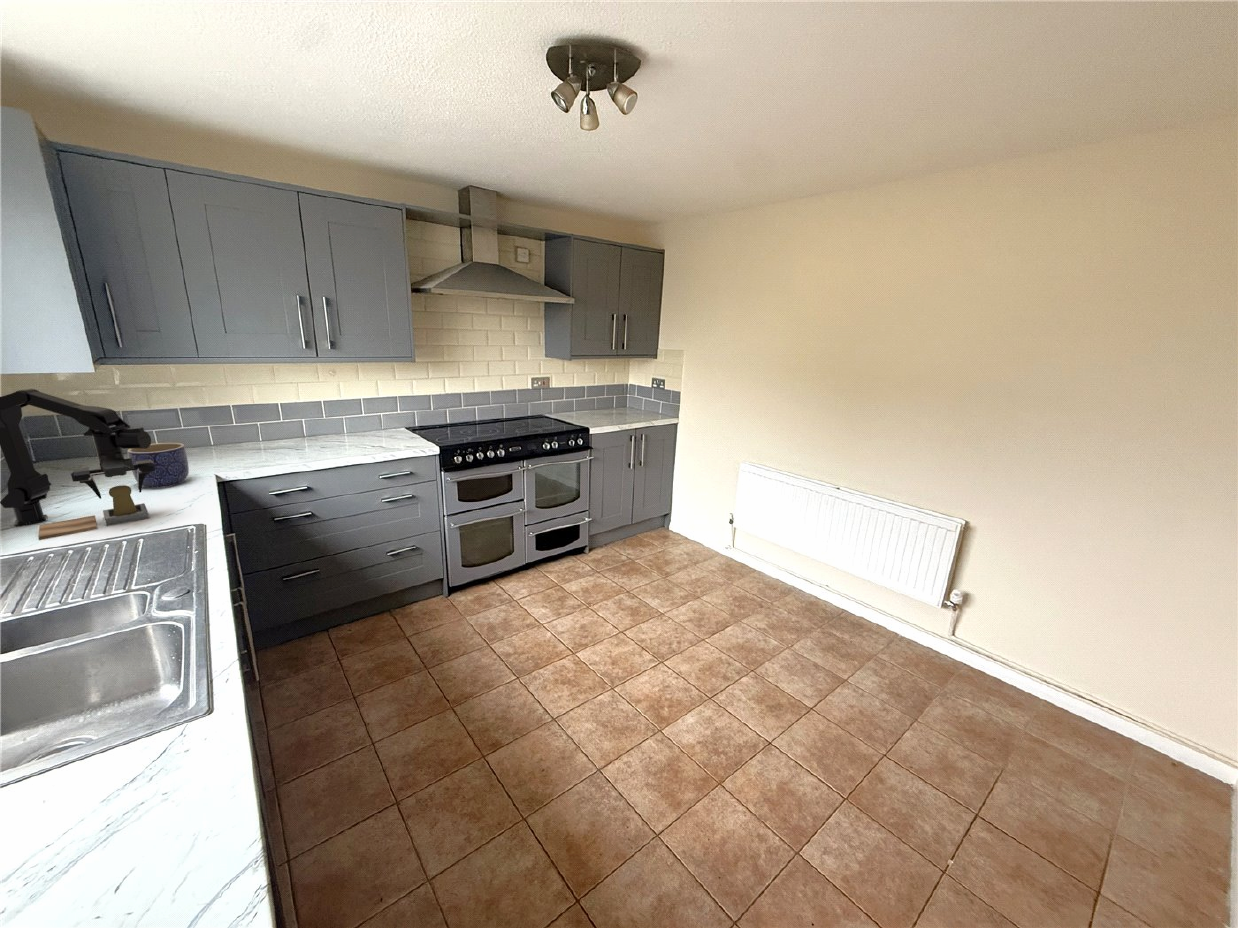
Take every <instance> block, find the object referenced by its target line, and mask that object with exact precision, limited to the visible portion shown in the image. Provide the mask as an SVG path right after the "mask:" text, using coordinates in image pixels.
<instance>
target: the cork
mask: <svg viewBox="0 0 1238 928" xmlns="http://www.w3.org/2000/svg"><path fill="white" fill-rule="evenodd" d="M131 494H132V488H131V486H129V485H127V484H126V485H123V484H122V485H115V486H113V487H111V488H109V490H108V495H109V496H110V497H111V498H112V506H113V508H112V509H114V516H118V515H124V514H129V513H135V512H138V511H137V509H136V506H135V505H136V504H135V503H134V500H133V498H132V496H131Z"/></svg>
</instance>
